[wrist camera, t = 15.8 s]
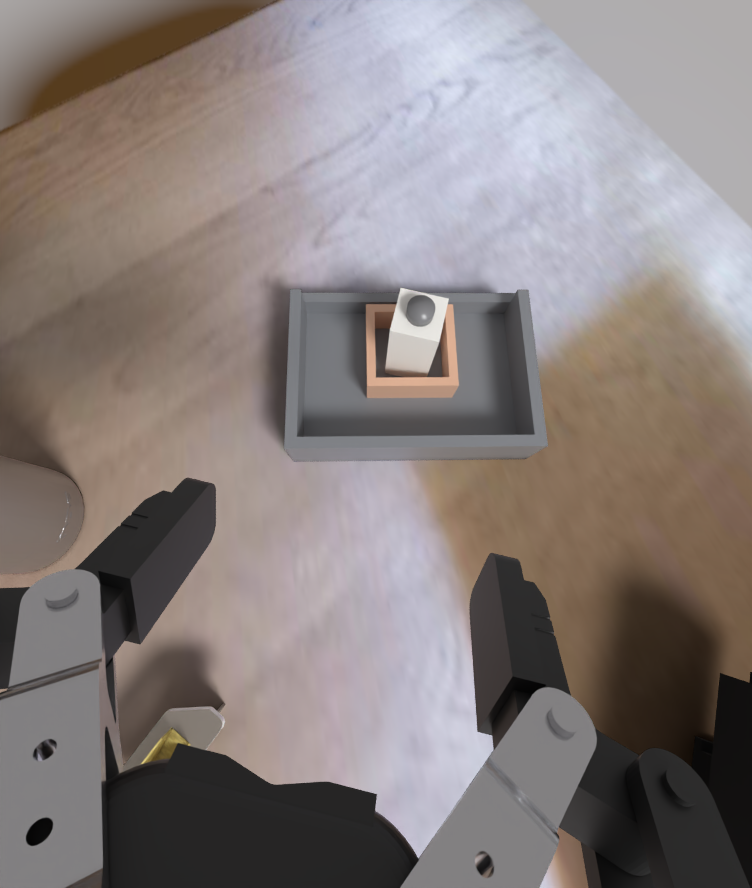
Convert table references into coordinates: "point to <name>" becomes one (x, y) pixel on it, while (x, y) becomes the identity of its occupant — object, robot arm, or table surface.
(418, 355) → the plug
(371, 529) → the table surface
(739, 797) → the security camera
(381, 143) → the table surface
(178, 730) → the platform
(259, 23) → the table surface
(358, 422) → the walled box
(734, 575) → the table surface
